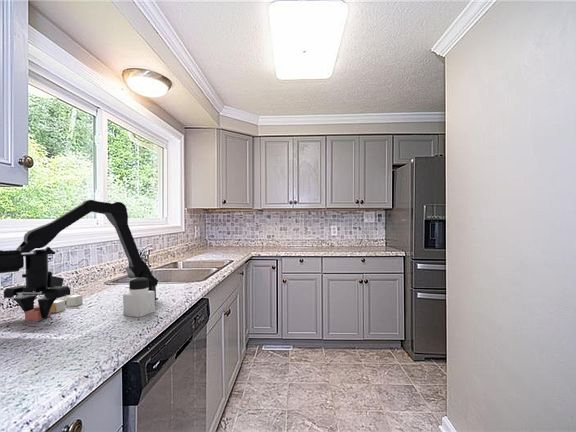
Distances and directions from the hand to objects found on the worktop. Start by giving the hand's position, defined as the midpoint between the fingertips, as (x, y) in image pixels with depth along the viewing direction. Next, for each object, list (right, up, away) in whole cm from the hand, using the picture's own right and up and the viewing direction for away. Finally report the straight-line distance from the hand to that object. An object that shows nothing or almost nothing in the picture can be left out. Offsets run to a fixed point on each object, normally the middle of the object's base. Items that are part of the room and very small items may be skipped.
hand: (37, 319), depth 107 cm
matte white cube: (0, 0, +8) cm, 8 cm away
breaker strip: (+2, -1, +12) cm, 12 cm away
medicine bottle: (+28, -1, +8) cm, 30 cm away
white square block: (+2, 0, +16) cm, 16 cm away
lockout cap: (0, -1, 0) cm, 1 cm away
